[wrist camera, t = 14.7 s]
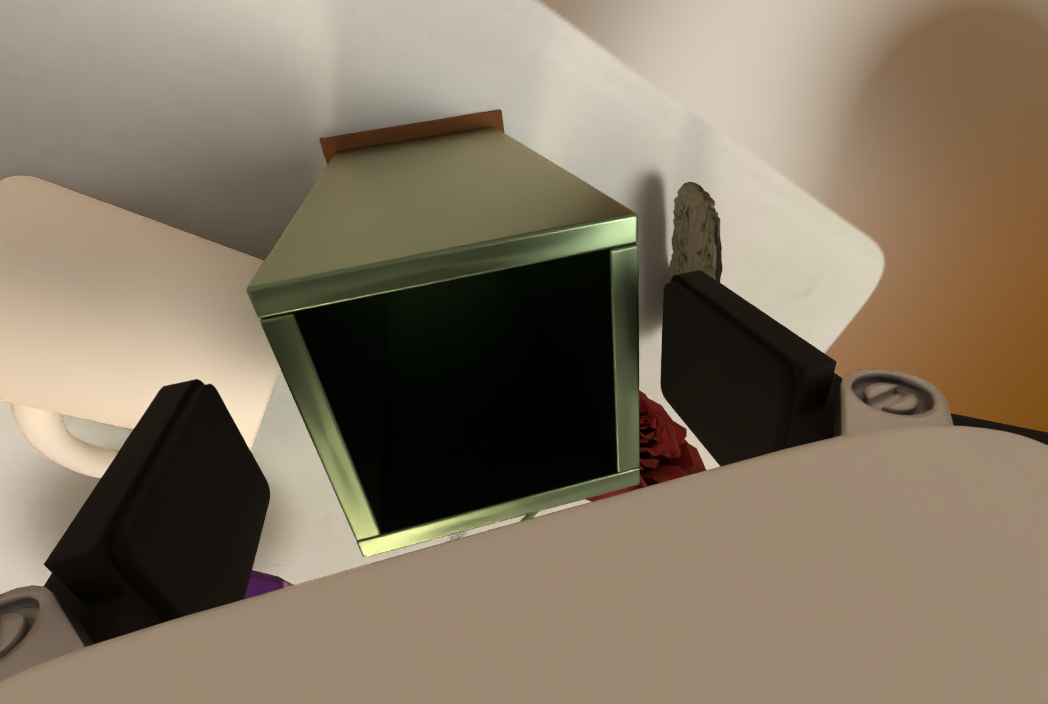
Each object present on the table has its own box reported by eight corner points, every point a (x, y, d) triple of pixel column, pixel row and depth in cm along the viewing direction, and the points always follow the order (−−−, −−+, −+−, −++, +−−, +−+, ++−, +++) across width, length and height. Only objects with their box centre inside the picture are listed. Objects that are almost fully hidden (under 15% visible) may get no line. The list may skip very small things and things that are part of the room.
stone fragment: (667, 174, 26) (718, 201, 22) (679, 172, 26) (732, 199, 22) (661, 335, 31) (700, 382, 27) (671, 333, 31) (712, 379, 27)
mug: (67, 156, 20) (-98, 202, 13) (323, 254, 24) (295, 329, 17) (29, 393, 24) (-111, 521, 17) (253, 444, 28) (209, 563, 21)
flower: (314, 727, 33) (585, 454, 19) (337, 574, 41) (540, 302, 27) (461, 731, 38) (765, 515, 24) (456, 593, 46) (682, 370, 32)
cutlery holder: (335, 150, 22) (243, 288, 8) (492, 125, 23) (639, 212, 9) (378, 296, 26) (363, 558, 12) (513, 269, 26) (640, 485, 13)
